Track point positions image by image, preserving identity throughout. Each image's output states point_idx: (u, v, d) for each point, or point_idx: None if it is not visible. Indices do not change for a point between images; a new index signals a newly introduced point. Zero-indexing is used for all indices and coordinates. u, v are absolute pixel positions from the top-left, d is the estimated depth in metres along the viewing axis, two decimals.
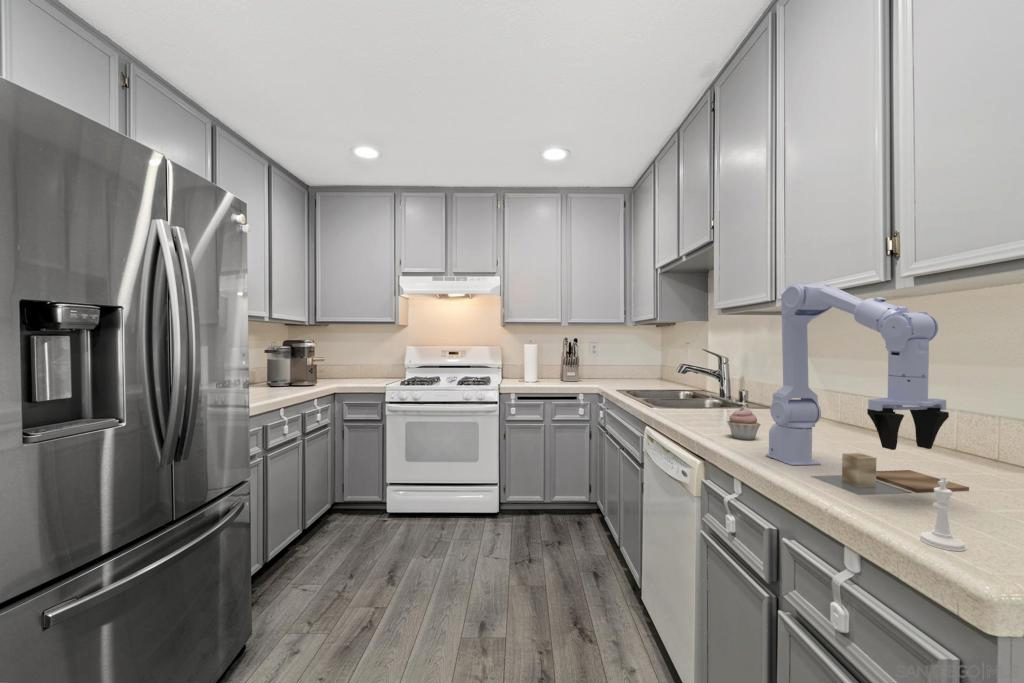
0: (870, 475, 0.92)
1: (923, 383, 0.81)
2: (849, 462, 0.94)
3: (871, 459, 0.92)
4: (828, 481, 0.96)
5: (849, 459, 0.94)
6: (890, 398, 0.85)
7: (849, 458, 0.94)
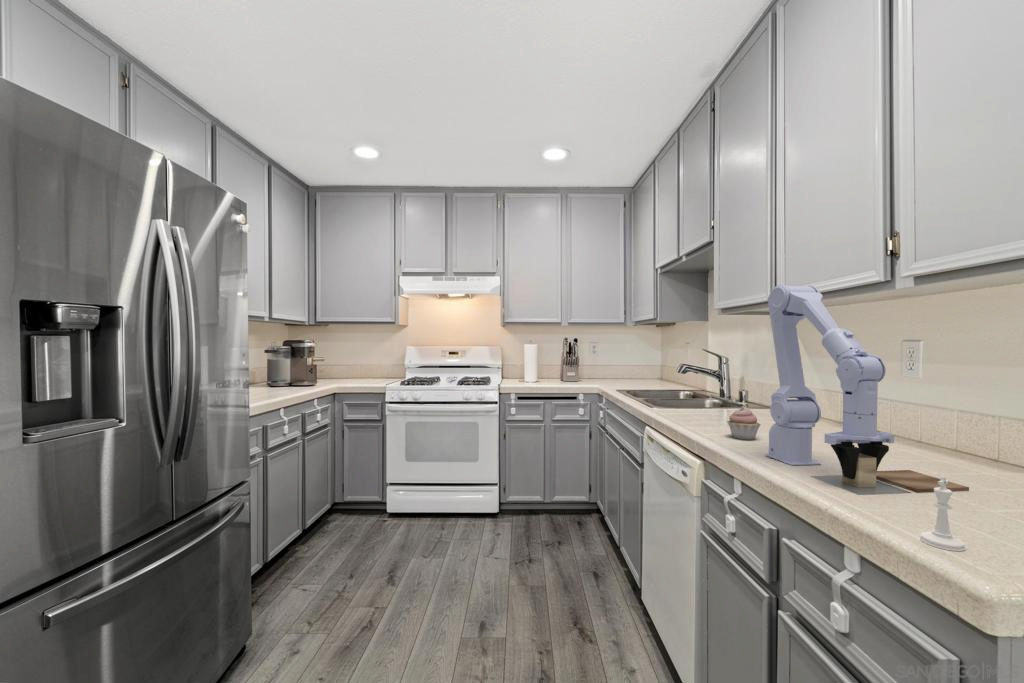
0: (870, 475, 0.92)
1: (872, 420, 0.91)
2: None
3: (871, 459, 0.92)
4: (828, 481, 0.96)
5: None
6: (844, 432, 0.95)
7: None
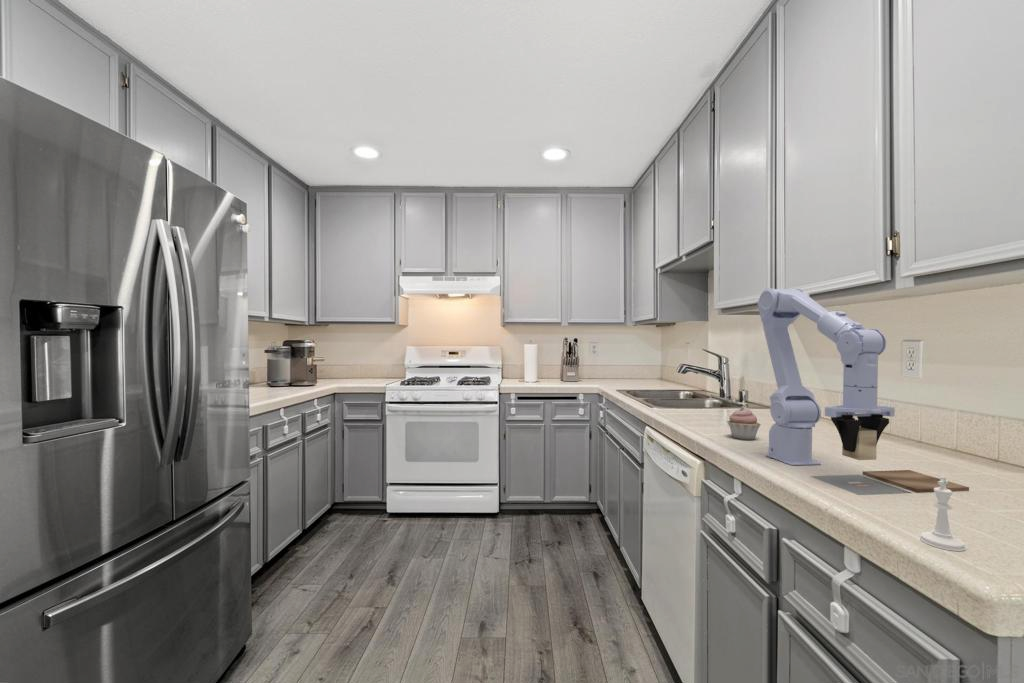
0: (870, 448, 0.92)
1: (872, 392, 0.91)
2: None
3: (872, 432, 0.92)
4: (828, 481, 0.96)
5: None
6: (844, 406, 0.95)
7: None
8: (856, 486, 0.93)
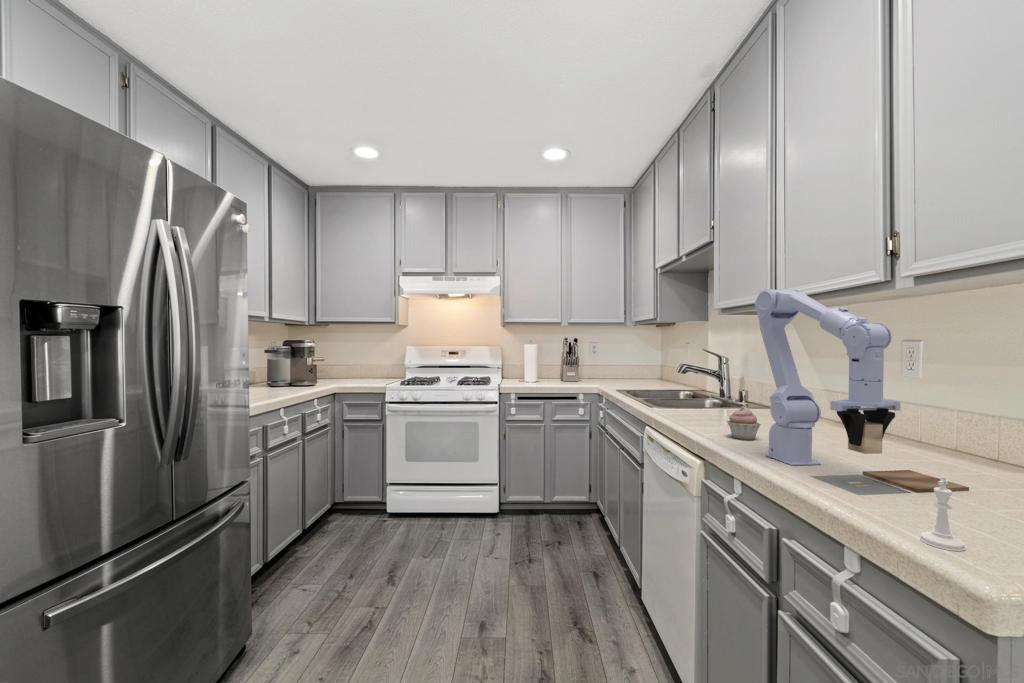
0: (876, 442, 0.92)
1: (878, 386, 0.92)
2: None
3: (878, 425, 0.92)
4: (828, 481, 0.96)
5: None
6: (850, 400, 0.95)
7: None
8: (856, 486, 0.93)
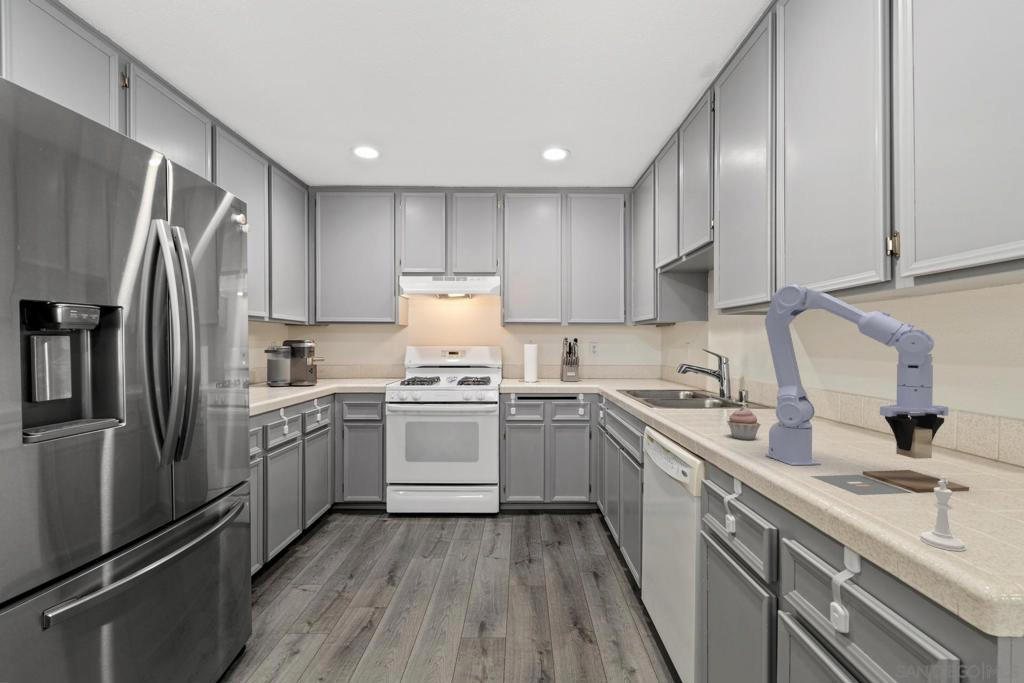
0: (926, 446, 0.94)
1: (928, 392, 0.93)
2: None
3: (927, 431, 0.94)
4: (828, 481, 0.96)
5: None
6: (899, 405, 0.96)
7: None
8: (856, 486, 0.93)
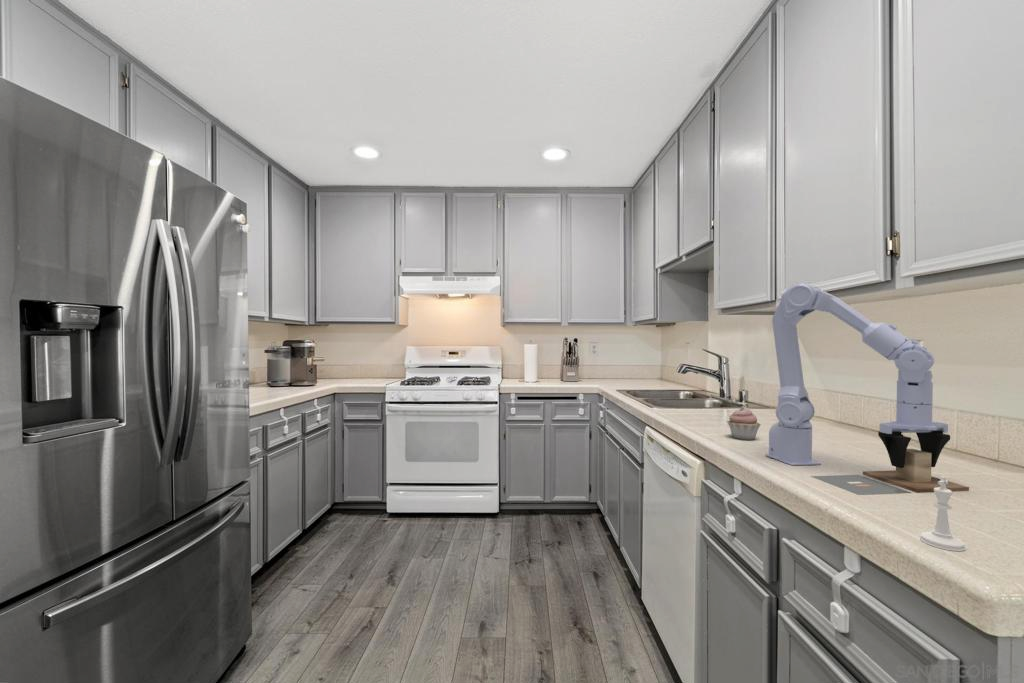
0: (925, 470, 0.94)
1: (927, 409, 0.93)
2: None
3: (927, 454, 0.94)
4: (828, 481, 0.96)
5: None
6: (898, 422, 0.96)
7: None
8: (856, 486, 0.93)
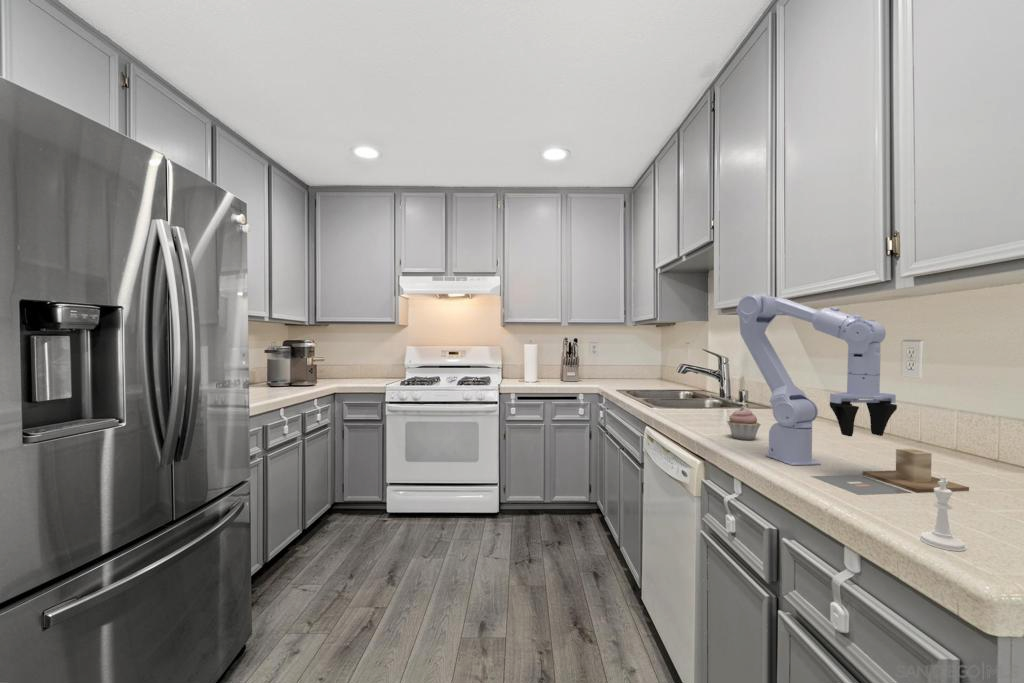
0: (925, 470, 0.94)
1: (875, 380, 0.97)
2: (904, 457, 0.96)
3: (927, 454, 0.94)
4: (828, 481, 0.96)
5: (904, 454, 0.96)
6: (848, 393, 1.00)
7: (903, 453, 0.96)
8: (856, 486, 0.93)
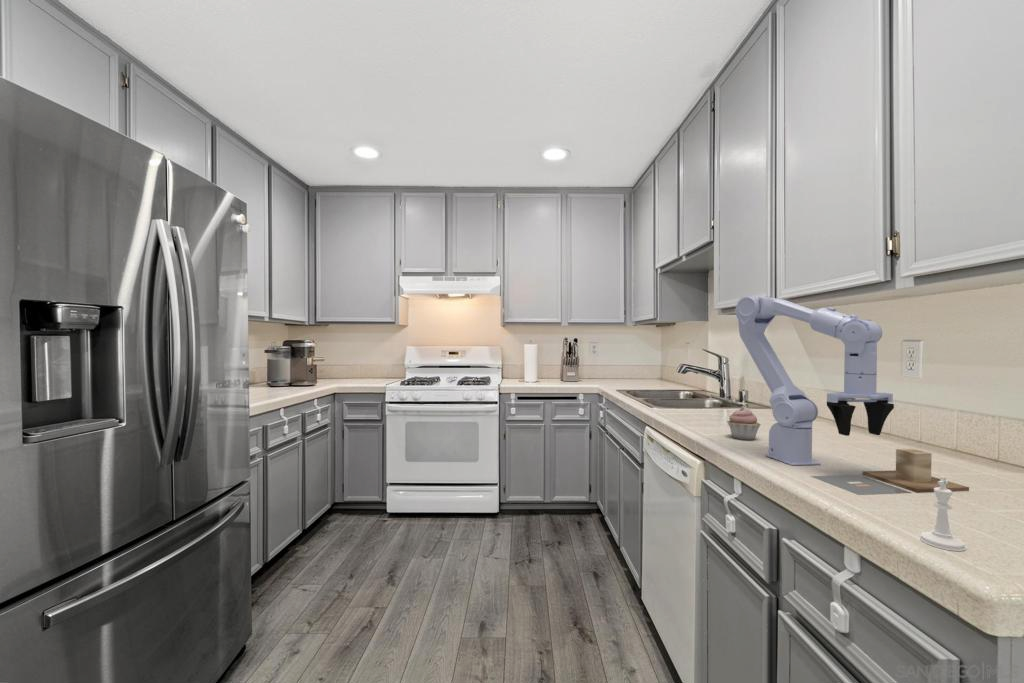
0: (925, 470, 0.94)
1: (871, 379, 0.97)
2: (904, 457, 0.96)
3: (927, 454, 0.94)
4: (828, 481, 0.96)
5: (904, 454, 0.96)
6: (845, 392, 1.00)
7: (903, 453, 0.96)
8: (856, 486, 0.93)
